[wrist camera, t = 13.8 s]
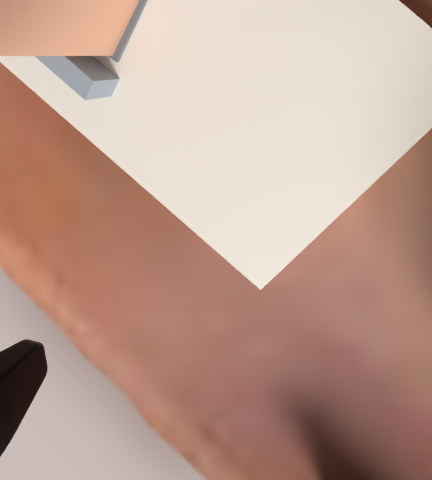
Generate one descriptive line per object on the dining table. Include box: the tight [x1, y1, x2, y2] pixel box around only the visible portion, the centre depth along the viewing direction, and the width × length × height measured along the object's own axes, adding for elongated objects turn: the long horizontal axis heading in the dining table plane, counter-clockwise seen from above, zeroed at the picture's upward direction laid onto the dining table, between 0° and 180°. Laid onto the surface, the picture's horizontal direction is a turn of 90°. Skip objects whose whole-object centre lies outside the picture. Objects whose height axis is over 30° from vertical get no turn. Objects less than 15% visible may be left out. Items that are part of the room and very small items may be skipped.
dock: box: [0, 0, 432, 290], centre depth 17 cm, size 20×13×4 cm, turn 54°
